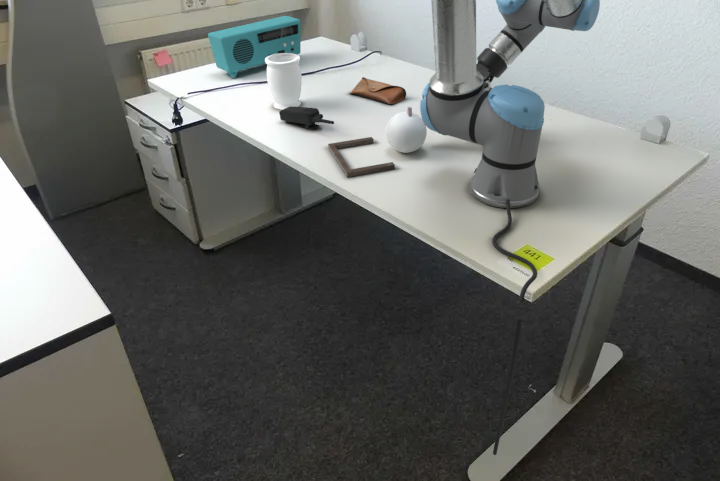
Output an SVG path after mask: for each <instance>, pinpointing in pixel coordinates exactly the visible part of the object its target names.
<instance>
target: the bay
mask: <svg viewBox="0 0 720 481" xmlns="http://www.w3.org/2000/svg"><path fill="white" fill-rule="evenodd" d="M374 142H375V140H374V138H373V137H372V136H369V137H363V138H357V139H356V138H355V139H350V140H343V141H336V142H331V143H328V144H327V147H328V149H329V151H330V153H331V154H332V156H333V157H334V159H335V161H336V162H337V164H338V165H339V167H340V168H341V170H342V171H343V173H344V174H345V177H347V178H352V177H357V176H365V175H369V174H375V173H380V172H386V171H390V170H395V169H396V164H395V163H394V162H393V161H390V162H385V163H380V164H373V165H367V166H362V167H356V168H351V167H350V166H349V165H348V164H347V162H346V160H345V159H344V157H343V156H342V154H341V152H340V151H339V149H345V148H352V147H359V146H364V145H369V144H374Z"/></svg>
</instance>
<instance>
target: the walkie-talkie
mask: <svg viewBox="0 0 720 481" xmlns="http://www.w3.org/2000/svg"><path fill="white" fill-rule="evenodd" d="M278 115H279V118H280V121H282V122H283V121H284V122H289V125H293V126H296V127H300V128H304V129H307V130H314V129H318V128H319V127H320V125H319V124H317V123H322V124H328V125H330V124H331V125H334V124H335V121H334V120H330V119H325V118H324V115H323V113H320V110H319V109H318V108H317V107H307V106H299V107H291V106H290V107H287V108H285V109H283V110H279V114H278Z"/></svg>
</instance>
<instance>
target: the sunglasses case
mask: <svg viewBox="0 0 720 481" xmlns="http://www.w3.org/2000/svg"><path fill="white" fill-rule="evenodd" d="M348 93H349V95H353V96H358V97H362V98H365V99H368V100H372V101H375V102H378V103H382V104H387V105H395V104H398V103H401V102H402V101H405V100H406V97H407V90H406V89H405V88H404V87H403V86H399V85H392V84H389V83H386V82H382V81H378V80H374V79H369V78H366V77H364V76H363V77H361V79H360V81H359V82H358V83H357V84H356V85H355V87H354V88H352V90H351V91H350V92H348Z"/></svg>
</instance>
